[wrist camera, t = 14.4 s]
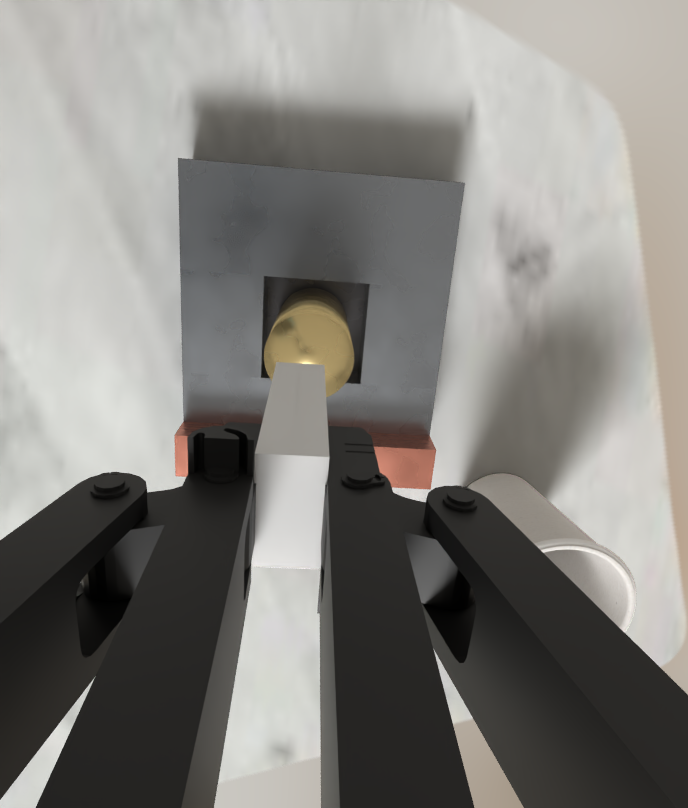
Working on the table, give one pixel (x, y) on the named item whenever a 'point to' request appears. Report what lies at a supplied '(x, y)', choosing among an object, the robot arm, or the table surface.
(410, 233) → the jig
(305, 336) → the brass cylinder
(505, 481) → the dixie cup
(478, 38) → the table surface
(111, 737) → the robot arm
